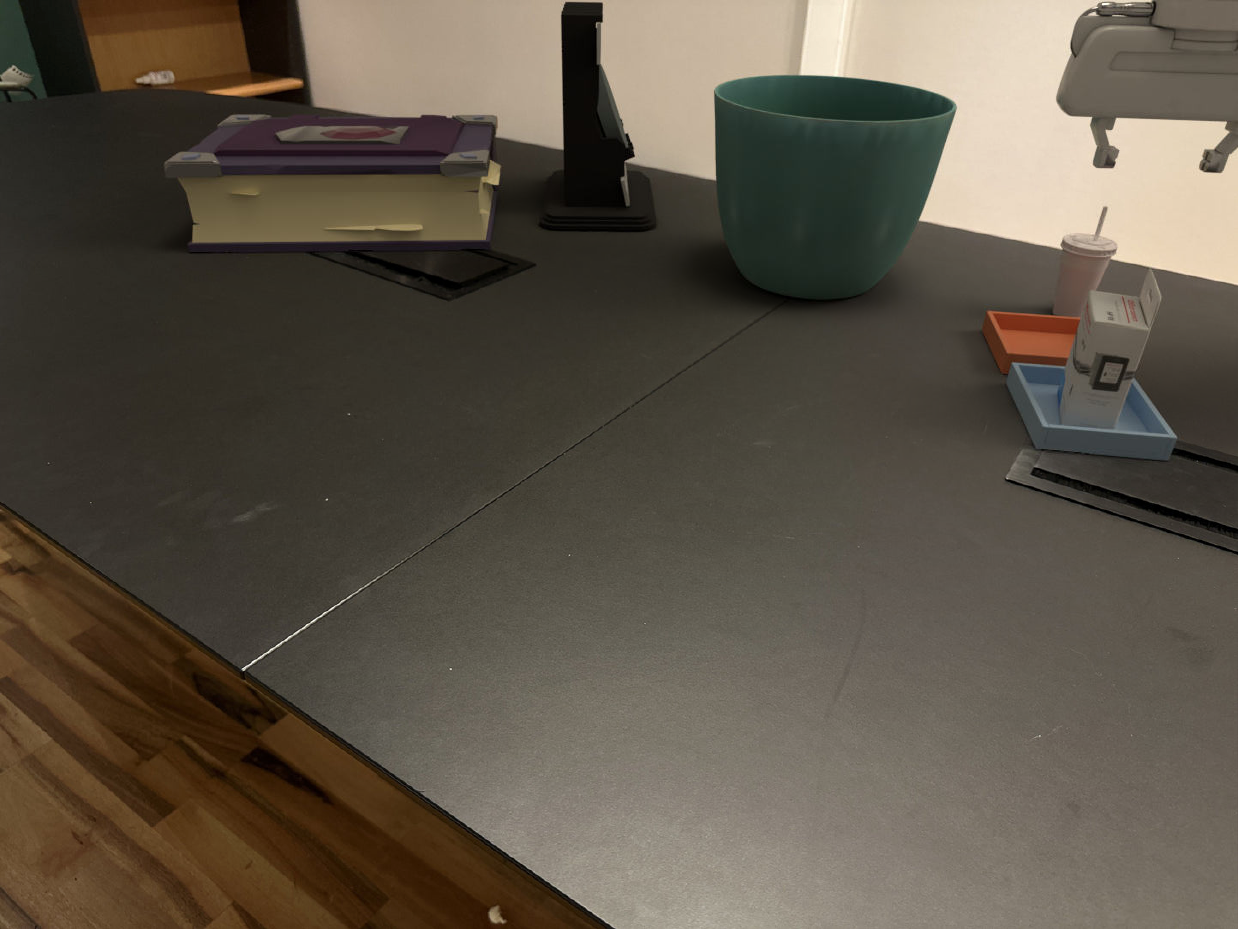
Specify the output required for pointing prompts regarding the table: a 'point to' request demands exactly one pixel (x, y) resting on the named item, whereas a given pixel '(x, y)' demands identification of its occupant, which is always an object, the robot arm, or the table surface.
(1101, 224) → the smoothie
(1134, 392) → the blue tray
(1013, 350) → the terracotta tray
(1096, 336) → the ink box
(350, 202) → the book
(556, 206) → the award
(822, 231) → the flower pot
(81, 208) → the table surface
